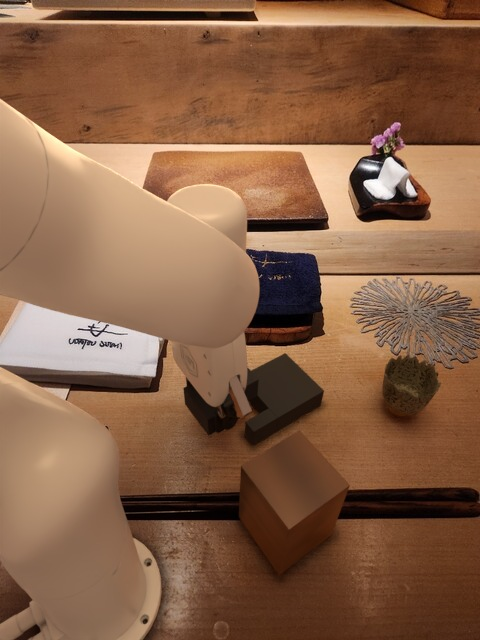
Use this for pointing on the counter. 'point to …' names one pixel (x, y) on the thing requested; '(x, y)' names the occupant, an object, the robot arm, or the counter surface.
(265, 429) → the base pad
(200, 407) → the small pad
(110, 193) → the robot arm
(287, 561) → the block
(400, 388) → the cup
